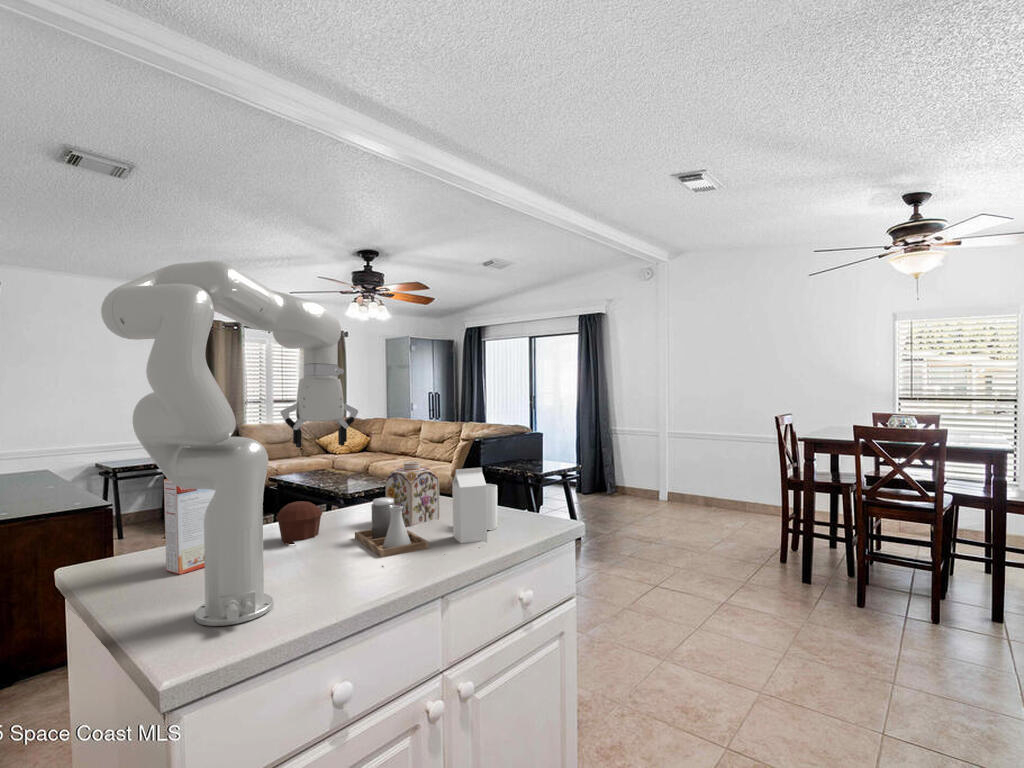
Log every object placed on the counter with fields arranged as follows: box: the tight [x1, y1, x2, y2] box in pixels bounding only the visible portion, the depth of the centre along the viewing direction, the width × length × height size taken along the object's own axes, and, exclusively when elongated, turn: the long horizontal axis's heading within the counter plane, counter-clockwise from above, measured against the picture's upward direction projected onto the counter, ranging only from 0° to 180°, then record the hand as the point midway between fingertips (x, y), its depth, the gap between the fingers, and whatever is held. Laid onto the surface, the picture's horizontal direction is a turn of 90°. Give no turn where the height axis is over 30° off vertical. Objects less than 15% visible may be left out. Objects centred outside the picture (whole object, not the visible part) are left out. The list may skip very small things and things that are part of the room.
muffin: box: [275, 500, 323, 545], centre depth 145 cm, size 12×11×10 cm
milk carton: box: [451, 467, 488, 544], centre depth 140 cm, size 7×7×19 cm
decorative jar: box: [385, 461, 441, 527], centre depth 162 cm, size 12×12×18 cm
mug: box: [486, 483, 498, 530], centre depth 155 cm, size 10×7×12 cm, turn 44°
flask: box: [382, 506, 411, 549], centre depth 133 cm, size 7×7×10 cm
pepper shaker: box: [371, 497, 395, 539], centre depth 141 cm, size 6×6×10 cm
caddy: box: [354, 528, 430, 559], centre depth 137 cm, size 20×12×3 cm, turn 33°
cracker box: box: [163, 478, 215, 575], centre depth 126 cm, size 14×6×21 cm, turn 149°
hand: (320, 446), depth 126 cm, fingers open, 9 cm apart
